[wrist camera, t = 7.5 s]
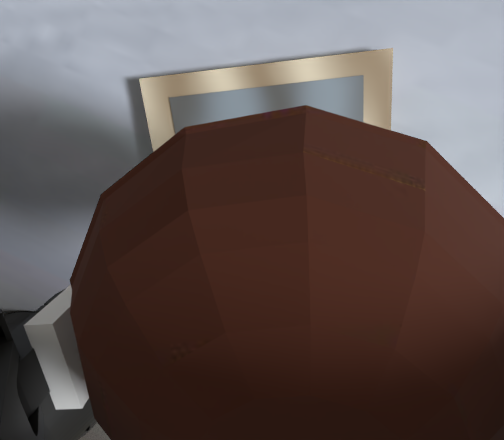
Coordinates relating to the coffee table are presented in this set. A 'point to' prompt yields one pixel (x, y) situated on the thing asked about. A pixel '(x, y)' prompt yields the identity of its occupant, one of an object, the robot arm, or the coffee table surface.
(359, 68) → the gold framed mirror
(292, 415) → the muffin
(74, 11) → the coffee table surface
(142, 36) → the coffee table surface
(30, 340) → the robot arm
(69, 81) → the coffee table surface
